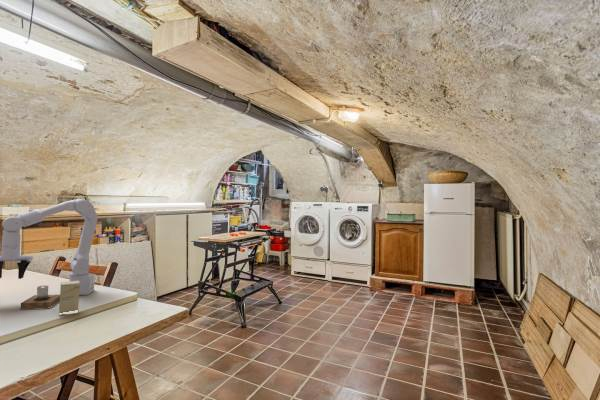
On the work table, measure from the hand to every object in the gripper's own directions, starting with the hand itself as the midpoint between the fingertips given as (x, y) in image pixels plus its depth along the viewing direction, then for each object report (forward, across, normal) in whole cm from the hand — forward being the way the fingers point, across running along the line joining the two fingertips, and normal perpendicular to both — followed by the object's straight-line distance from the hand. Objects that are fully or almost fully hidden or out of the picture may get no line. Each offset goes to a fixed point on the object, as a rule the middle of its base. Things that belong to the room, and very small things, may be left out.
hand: (9, 278), depth 133 cm
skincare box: (+11, -27, +14) cm, 32 cm away
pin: (+10, -13, +3) cm, 17 cm away
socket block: (+10, -13, +3) cm, 17 cm away
